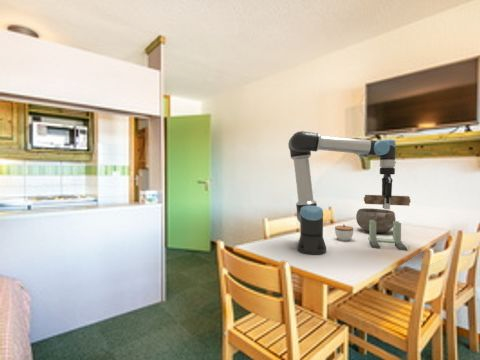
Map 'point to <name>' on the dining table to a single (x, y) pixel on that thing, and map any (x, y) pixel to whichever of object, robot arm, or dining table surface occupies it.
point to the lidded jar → (344, 232)
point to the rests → (398, 245)
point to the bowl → (376, 219)
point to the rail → (380, 199)
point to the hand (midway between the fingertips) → (386, 208)
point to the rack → (373, 238)
